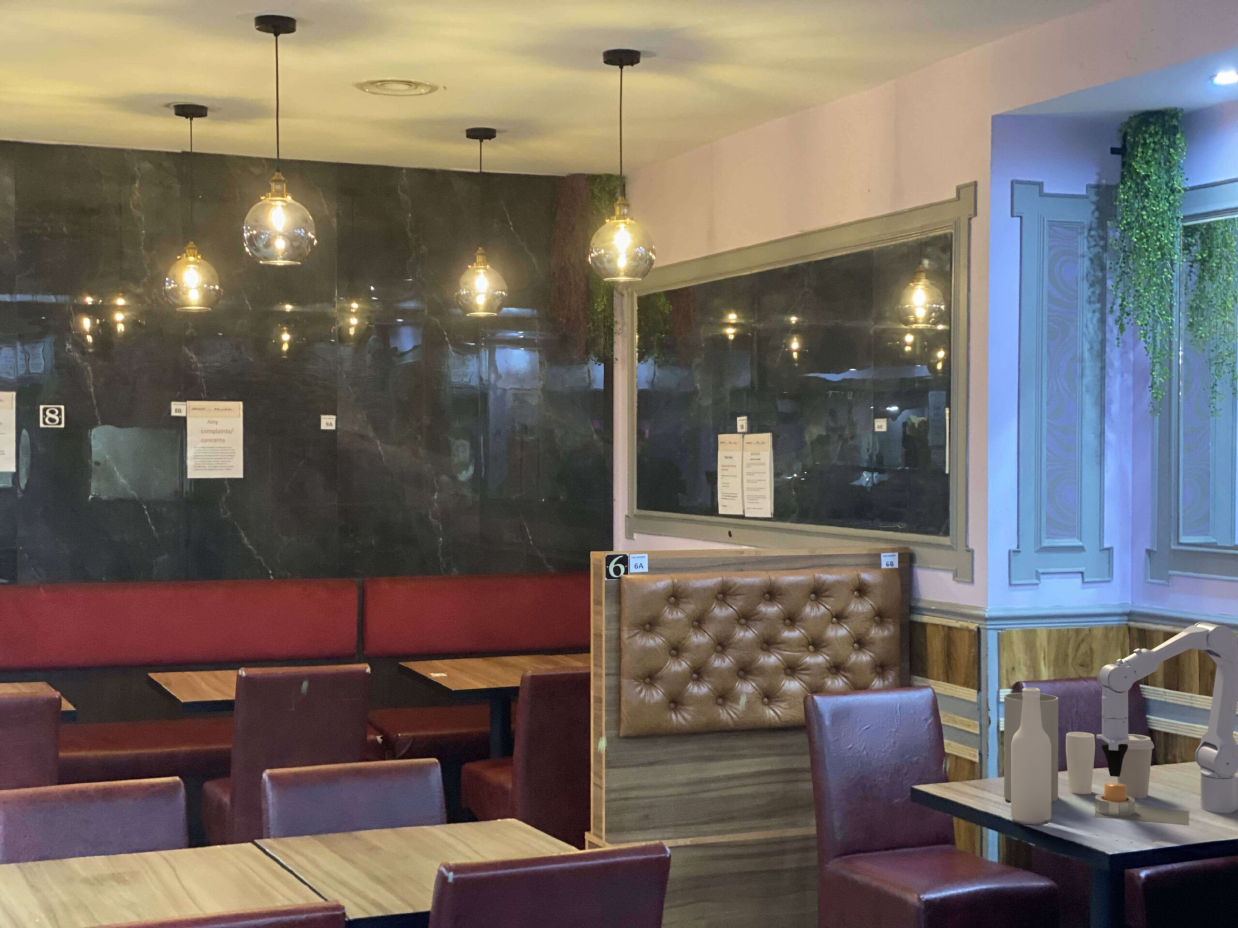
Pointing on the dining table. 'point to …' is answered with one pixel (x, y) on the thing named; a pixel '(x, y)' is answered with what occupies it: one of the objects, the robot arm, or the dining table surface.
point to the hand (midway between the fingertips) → (1114, 775)
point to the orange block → (1115, 792)
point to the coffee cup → (1136, 766)
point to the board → (1154, 815)
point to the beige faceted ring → (1115, 806)
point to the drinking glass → (1080, 761)
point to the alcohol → (1031, 765)
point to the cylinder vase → (1012, 726)
